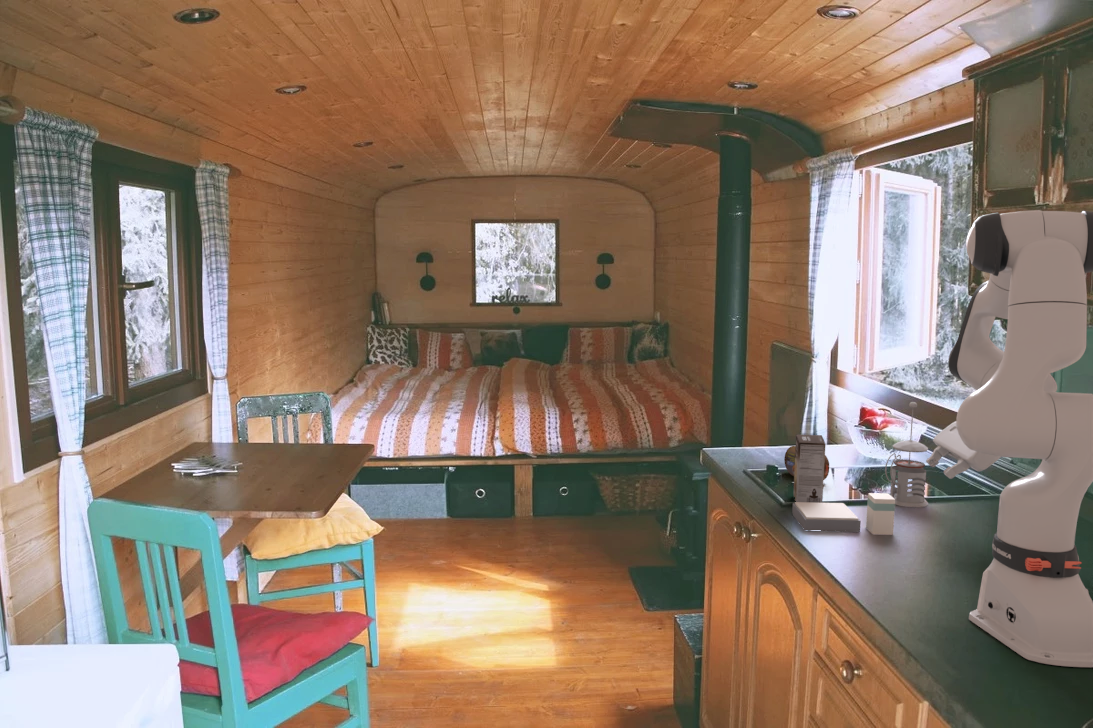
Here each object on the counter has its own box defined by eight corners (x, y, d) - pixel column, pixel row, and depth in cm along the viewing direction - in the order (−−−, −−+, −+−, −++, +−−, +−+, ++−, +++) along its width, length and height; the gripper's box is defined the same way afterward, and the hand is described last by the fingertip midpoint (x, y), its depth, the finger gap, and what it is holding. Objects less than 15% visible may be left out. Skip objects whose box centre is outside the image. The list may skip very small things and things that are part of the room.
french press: (937, 504, 203) (944, 404, 200) (901, 509, 199) (907, 407, 196) (906, 493, 212) (913, 397, 209) (871, 498, 208) (876, 400, 205)
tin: (782, 472, 233) (784, 442, 232) (791, 471, 234) (793, 441, 233) (821, 486, 219) (823, 454, 218) (830, 484, 221) (832, 453, 219)
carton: (893, 535, 181) (895, 499, 180) (872, 534, 182) (874, 499, 181) (886, 528, 186) (888, 493, 185) (865, 527, 186) (867, 493, 185)
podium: (860, 532, 183) (860, 518, 183) (804, 530, 184) (805, 517, 183) (844, 515, 195) (844, 502, 195) (792, 513, 196) (792, 501, 195)
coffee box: (792, 495, 210) (795, 433, 208) (818, 497, 209) (821, 434, 207) (795, 506, 201) (798, 441, 199) (823, 508, 200) (826, 443, 198)
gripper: (956, 407, 189) (910, 448, 191) (999, 426, 169) (946, 472, 171) (975, 427, 190) (928, 467, 192) (1020, 448, 169) (967, 493, 171)
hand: (937, 470), depth 181 cm, fingers open, 8 cm apart
